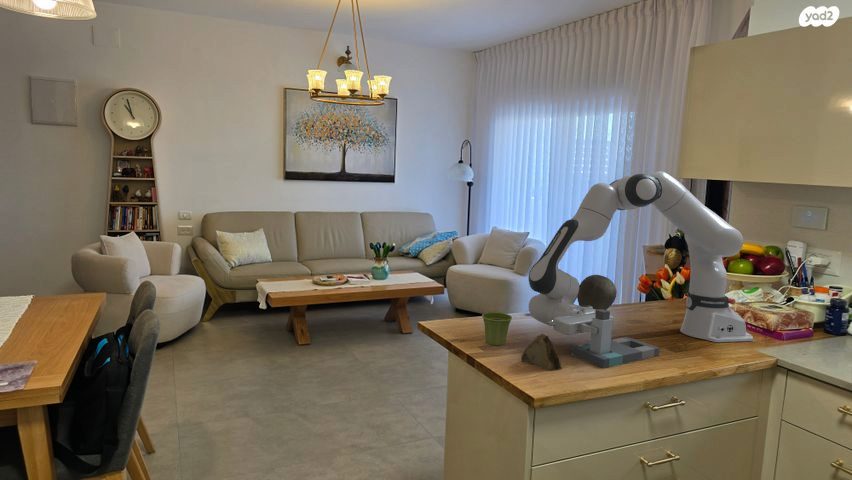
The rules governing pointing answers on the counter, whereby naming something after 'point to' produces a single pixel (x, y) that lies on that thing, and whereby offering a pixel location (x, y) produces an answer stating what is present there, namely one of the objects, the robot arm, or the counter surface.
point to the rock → (542, 354)
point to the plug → (601, 332)
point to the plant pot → (496, 327)
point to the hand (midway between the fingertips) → (603, 330)
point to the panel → (617, 352)
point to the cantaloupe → (597, 292)
